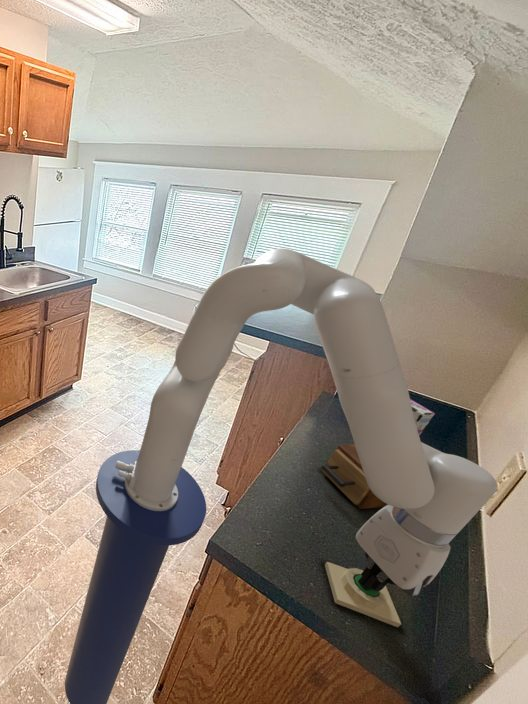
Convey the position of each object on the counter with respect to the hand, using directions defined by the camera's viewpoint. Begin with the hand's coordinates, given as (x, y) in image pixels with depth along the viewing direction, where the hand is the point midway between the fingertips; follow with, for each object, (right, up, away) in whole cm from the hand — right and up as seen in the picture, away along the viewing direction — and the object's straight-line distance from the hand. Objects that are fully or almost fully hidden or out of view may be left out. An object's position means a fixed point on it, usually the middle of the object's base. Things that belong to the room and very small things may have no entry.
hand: (368, 585), depth 71 cm
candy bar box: (+39, +15, +43) cm, 60 cm away
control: (0, -3, +2) cm, 3 cm away
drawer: (+17, +9, +25) cm, 32 cm away
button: (0, -1, +1) cm, 2 cm away
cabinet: (+21, +8, +26) cm, 35 cm away
